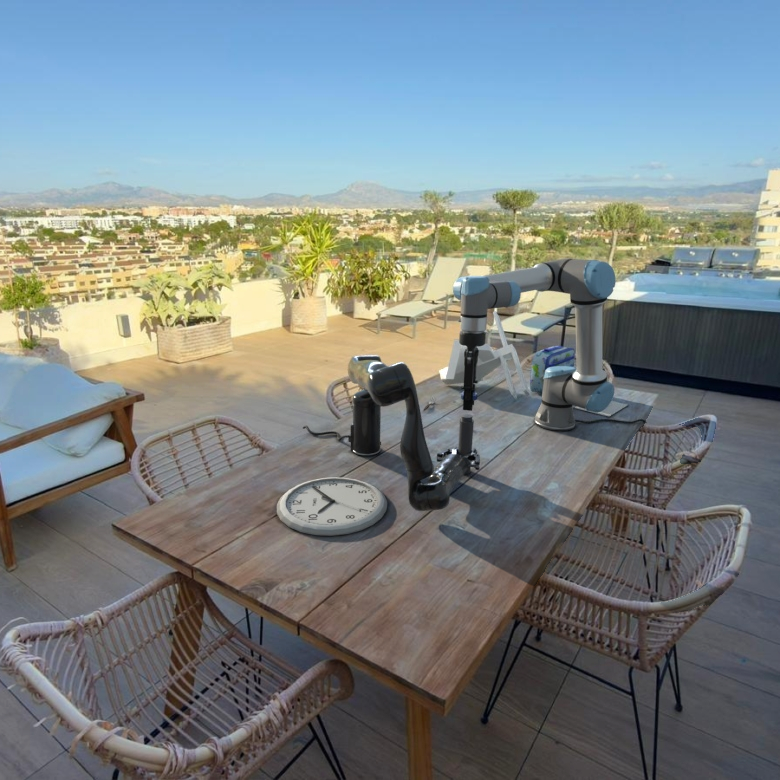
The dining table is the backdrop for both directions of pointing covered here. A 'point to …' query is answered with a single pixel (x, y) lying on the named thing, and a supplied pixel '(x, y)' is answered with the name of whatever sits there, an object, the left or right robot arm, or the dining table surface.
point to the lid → (473, 396)
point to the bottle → (465, 436)
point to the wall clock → (331, 506)
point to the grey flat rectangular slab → (608, 408)
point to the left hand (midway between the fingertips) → (467, 449)
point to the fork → (430, 403)
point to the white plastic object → (484, 362)
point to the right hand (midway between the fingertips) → (468, 406)
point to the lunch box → (549, 364)
